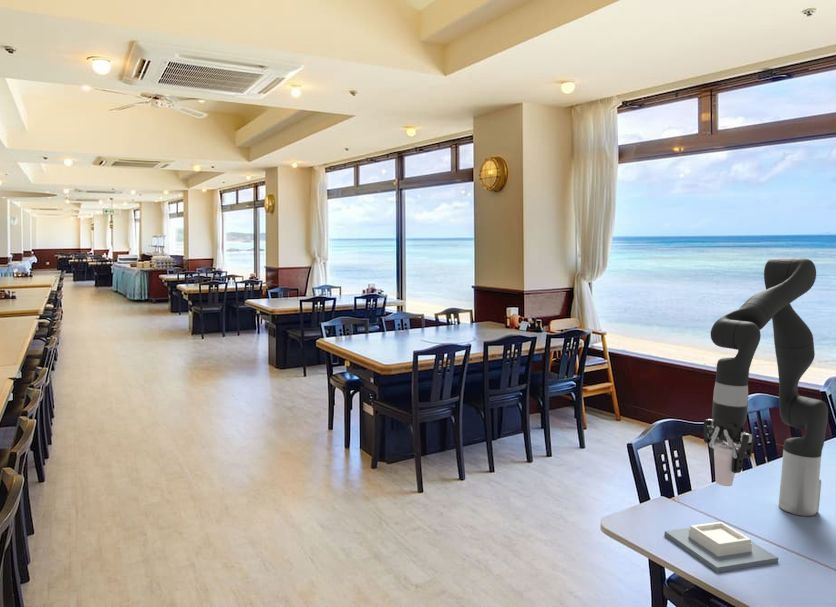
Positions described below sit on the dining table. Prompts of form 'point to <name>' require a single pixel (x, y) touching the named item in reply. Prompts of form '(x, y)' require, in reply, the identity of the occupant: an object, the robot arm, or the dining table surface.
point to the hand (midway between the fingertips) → (725, 467)
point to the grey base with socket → (720, 546)
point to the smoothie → (723, 463)
